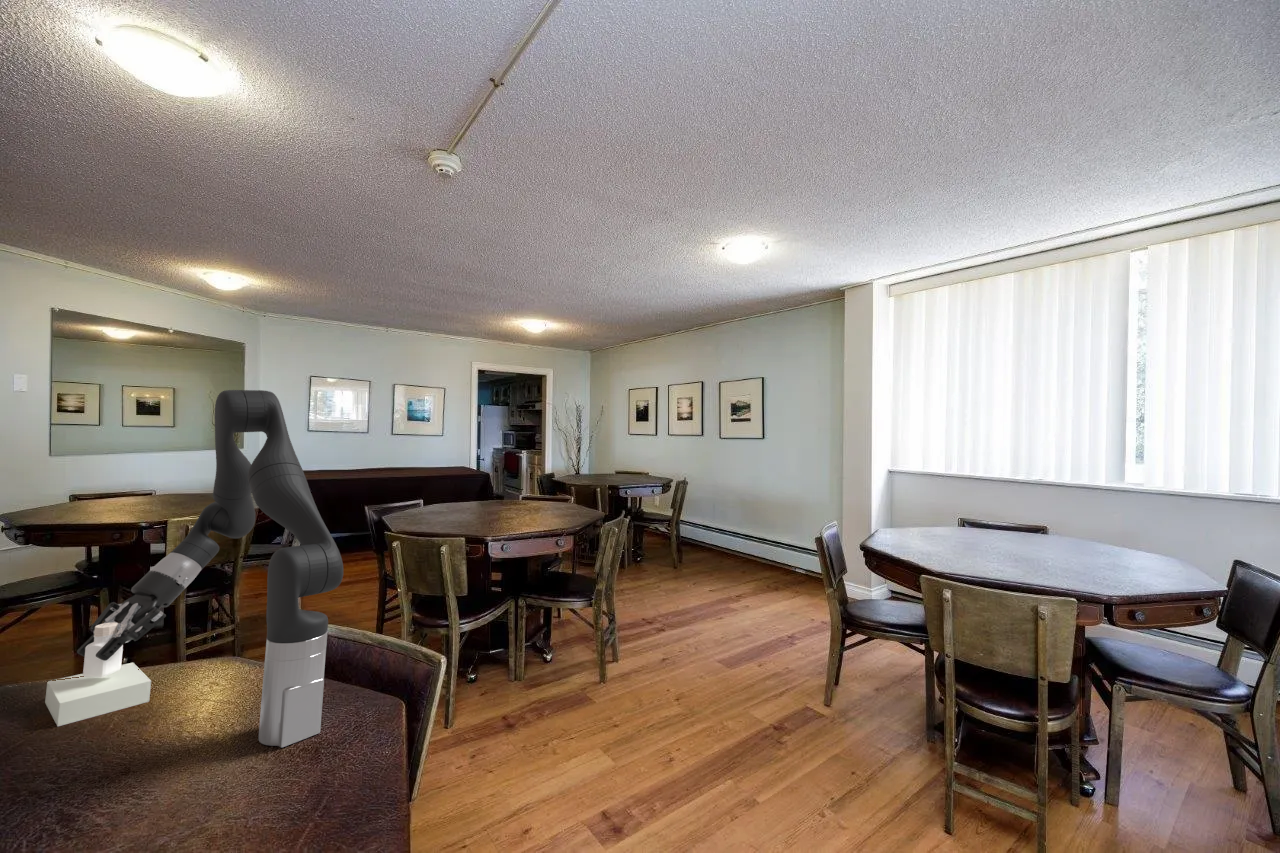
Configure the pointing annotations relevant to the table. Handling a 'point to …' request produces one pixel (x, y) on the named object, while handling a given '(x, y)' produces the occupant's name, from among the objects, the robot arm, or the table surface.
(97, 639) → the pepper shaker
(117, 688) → the platform
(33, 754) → the table surface
